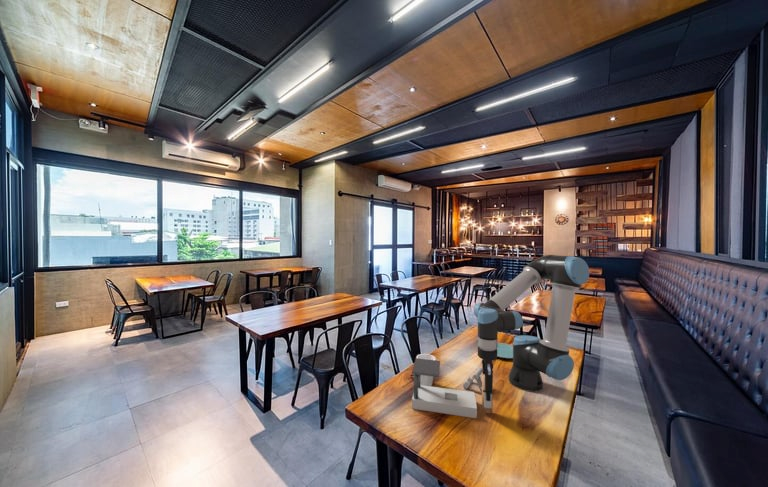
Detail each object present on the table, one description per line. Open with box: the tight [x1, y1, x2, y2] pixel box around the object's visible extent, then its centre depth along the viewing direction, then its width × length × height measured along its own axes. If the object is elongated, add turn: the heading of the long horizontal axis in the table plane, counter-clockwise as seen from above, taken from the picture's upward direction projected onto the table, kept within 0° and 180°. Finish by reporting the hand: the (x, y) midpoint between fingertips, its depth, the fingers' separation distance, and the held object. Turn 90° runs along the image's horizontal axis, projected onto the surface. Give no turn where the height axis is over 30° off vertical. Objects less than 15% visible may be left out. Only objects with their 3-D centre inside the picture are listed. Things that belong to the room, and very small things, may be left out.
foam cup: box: [415, 353, 437, 387], centre depth 137 cm, size 10×9×13 cm
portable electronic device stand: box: [462, 367, 483, 393], centre depth 134 cm, size 9×8×8 cm
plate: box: [497, 342, 513, 360], centre depth 174 cm, size 22×22×3 cm
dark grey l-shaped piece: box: [411, 357, 441, 399], centre depth 122 cm, size 11×13×12 cm
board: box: [411, 385, 478, 419], centre depth 120 cm, size 26×12×4 cm, turn 77°
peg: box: [481, 373, 494, 414], centre depth 114 cm, size 4×4×14 cm
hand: (487, 403), depth 114 cm, fingers closed on peg, 4 cm apart
